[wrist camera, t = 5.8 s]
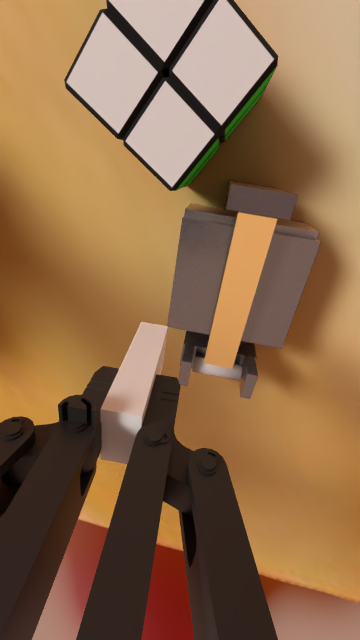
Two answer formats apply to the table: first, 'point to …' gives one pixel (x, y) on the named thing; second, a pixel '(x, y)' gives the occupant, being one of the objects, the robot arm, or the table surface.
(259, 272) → the strap
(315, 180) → the table surface
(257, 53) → the puzzle cube
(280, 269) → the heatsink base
